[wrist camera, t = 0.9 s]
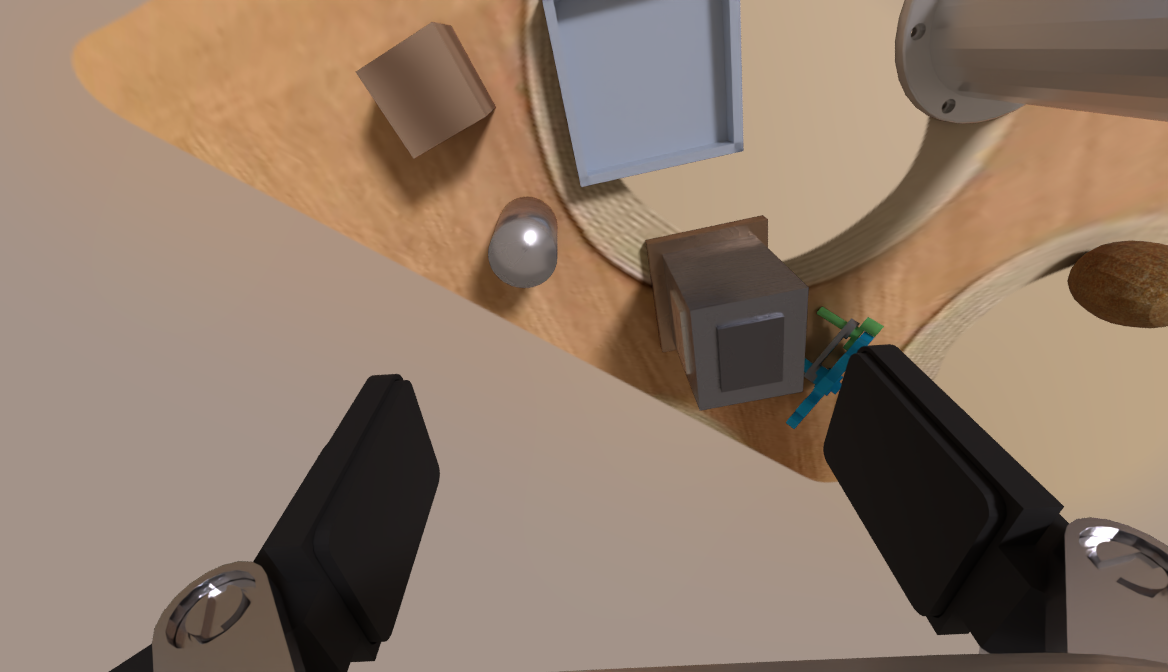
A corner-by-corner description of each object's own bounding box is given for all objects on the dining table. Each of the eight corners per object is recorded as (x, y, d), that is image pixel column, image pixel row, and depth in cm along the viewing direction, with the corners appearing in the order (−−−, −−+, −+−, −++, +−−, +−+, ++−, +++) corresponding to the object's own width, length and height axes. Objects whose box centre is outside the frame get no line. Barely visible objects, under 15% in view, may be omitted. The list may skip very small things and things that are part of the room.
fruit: (1101, 293, 40) (1210, 343, 34) (1029, 299, 40) (1124, 350, 34) (1142, 223, 37) (1272, 263, 30) (1064, 229, 37) (1177, 270, 30)
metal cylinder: (549, 190, 34) (547, 216, 29) (563, 247, 36) (564, 280, 31) (490, 204, 34) (478, 231, 29) (508, 259, 36) (499, 293, 31)
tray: (727, -54, 27) (738, -61, 25) (733, 145, 33) (743, 150, 31) (541, -7, 28) (540, -10, 26) (579, 179, 33) (581, 187, 32)
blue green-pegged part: (807, 424, 45) (792, 445, 36) (755, 385, 47) (730, 395, 39) (889, 331, 41) (893, 330, 33) (828, 294, 44) (818, 284, 35)
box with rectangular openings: (762, 215, 35) (829, 270, 27) (763, 326, 41) (818, 402, 32) (645, 240, 36) (673, 302, 27) (660, 346, 41) (687, 426, 32)
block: (451, 25, 28) (432, 21, 24) (496, 107, 31) (485, 116, 26) (385, 68, 29) (355, 72, 25) (433, 144, 32) (413, 158, 28)
